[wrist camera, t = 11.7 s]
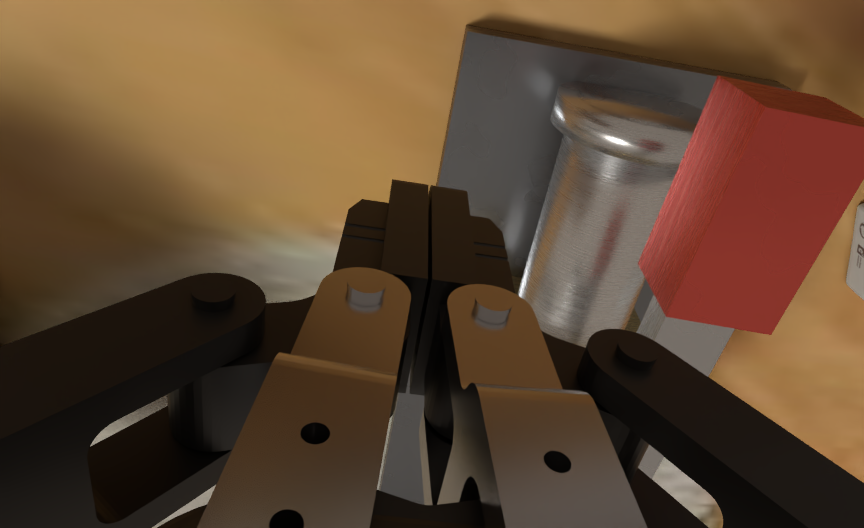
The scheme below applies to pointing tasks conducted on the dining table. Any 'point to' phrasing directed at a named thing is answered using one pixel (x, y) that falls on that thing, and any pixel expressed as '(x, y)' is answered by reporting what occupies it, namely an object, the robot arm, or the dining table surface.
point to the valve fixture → (561, 183)
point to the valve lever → (746, 217)
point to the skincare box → (857, 255)
